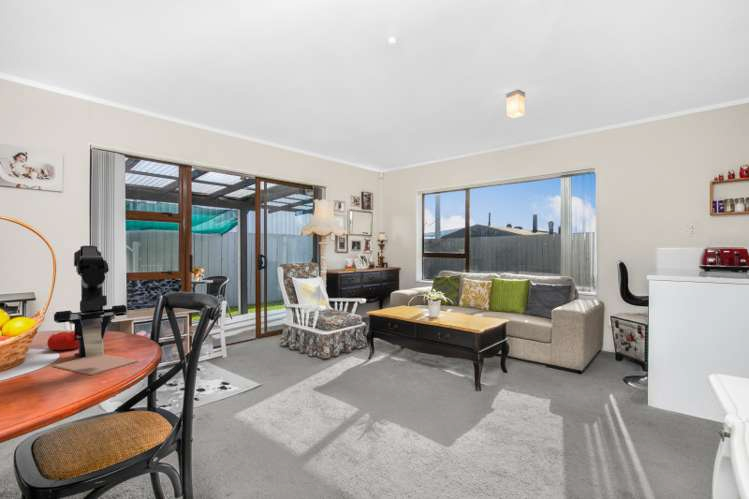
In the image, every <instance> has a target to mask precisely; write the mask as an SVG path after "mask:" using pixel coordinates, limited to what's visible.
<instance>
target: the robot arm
mask: <svg viewBox="0 0 749 499" xmlns="http://www.w3.org/2000/svg"><path fill="white" fill-rule="evenodd" d="M73 267H75V268H76V271H75V272H76V273H77V275H78V276H79V277H80V278H81V280H80V282H81V284H80V285H81V286H80V288H81V290H80V292H81V295H80V296H81V297H80V298H81V300H80V301H79V311H78V312H77V311H76V312H72V311H71V310H61V311H56V312H55V313H54V314H53V321H54V322H55V323H57V324H61V323H69V324H71V325H74V328H73V330H74V331H73V332H74V341H76V340H79V347H78V352H77V353H73V356H75V357H81V358H84V357H86V353H85V346H84V339H83V332H82V325H83V320H86V319H94V318H101V316H102V320H101V325H102V332H101V337H102V339H103V340H104V337H105V335H106V333H107V330H108V327H109V325H110V323H111V321H112V320H114V319H116V317H121V316H127V315H128V307H127V306H126V305H125V304H120V305H112V306H111V308H106V309H104V307H105V306H106V307H107V305H108V297H107V294H106V295H104V293H103V292H104V289H103V288H104V287H103V286H104V285H103V284H104V282H105V280H106V274H107V273H108V272H109V271H110V269H109V263H108V262H107V261H106V259H104V257H103V256H102V252H101V251H100V250H98V246H96V245H81V246H80V249H78V250H77V251H75V252H74V253H73ZM77 335H79V336H77ZM76 336H77V337H76Z"/></svg>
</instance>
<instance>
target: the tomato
mask: <svg viewBox="0 0 749 499" xmlns="http://www.w3.org/2000/svg"><path fill="white" fill-rule="evenodd" d="M77 336H79V335H77ZM77 336H76V337H77ZM48 337H49V338H48V339H47V343H46V345H47V347H48V349H49V350H51V351H66V350H67V351H68V350H75V349H79V340H76V341H74V331H61V332H58V333H54V334H53V333H52V335H50V336H48Z"/></svg>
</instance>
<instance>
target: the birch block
mask: <svg viewBox="0 0 749 499" xmlns="http://www.w3.org/2000/svg"><path fill="white" fill-rule="evenodd" d="M101 322H102V319H101V318H94V319H86V320H83V325H82V332H83V339H84V346H85V353H86V359H88V358H94V357H100V356H103V355H104V354H105V345H104V344H105V343H104V338H103V339H102V337H101V332H102V325H101Z"/></svg>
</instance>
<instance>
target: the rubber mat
mask: <svg viewBox="0 0 749 499" xmlns="http://www.w3.org/2000/svg"><path fill="white" fill-rule="evenodd" d="M136 363H139V360H137V359H132V358H126V357H123V356H122V357H121V356H116V355H111V354H105V353H104V355H103V356H100V357H94V358H88V359H86V357H81V358H76V359H73V360H69V361H65V362H61V363H58V364H53V365H52V367H53V368H56V369H62V370H65V371H71V372H73V373H78V374H79V373H80V374H83V375H88V376H91V377H92V376H94V375H99V374H102V373H105V372H108V371H109V372H110V371H112V370H115V369H119V368H122V367H125V366H129V365H133V364H136Z"/></svg>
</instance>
